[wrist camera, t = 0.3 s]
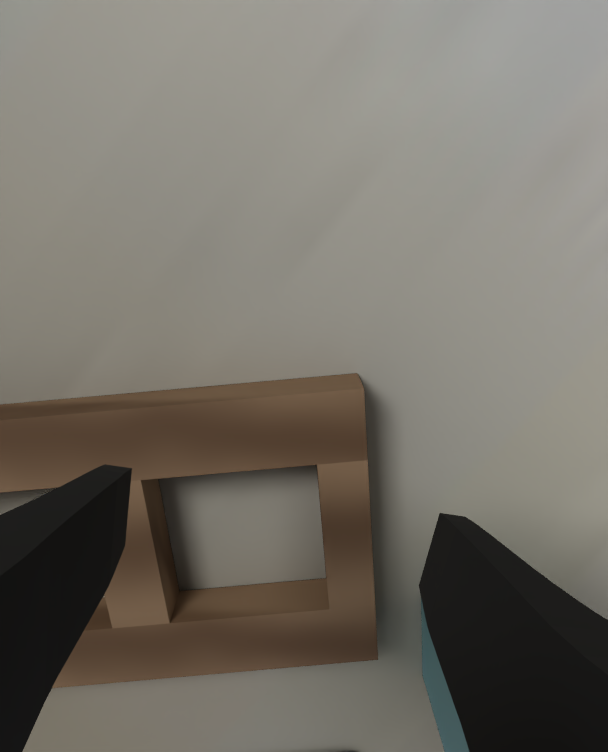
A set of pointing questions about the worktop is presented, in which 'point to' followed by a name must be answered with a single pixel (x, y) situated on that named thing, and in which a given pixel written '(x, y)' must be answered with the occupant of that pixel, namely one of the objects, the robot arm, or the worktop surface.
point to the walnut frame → (151, 538)
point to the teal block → (440, 696)
